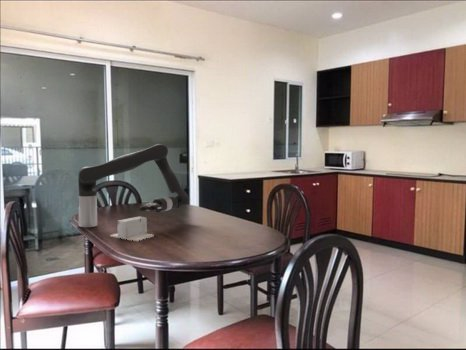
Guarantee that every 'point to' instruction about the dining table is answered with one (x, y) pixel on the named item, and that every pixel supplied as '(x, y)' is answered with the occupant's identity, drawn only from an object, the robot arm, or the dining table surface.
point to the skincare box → (132, 226)
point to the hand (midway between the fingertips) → (140, 209)
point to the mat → (134, 238)
